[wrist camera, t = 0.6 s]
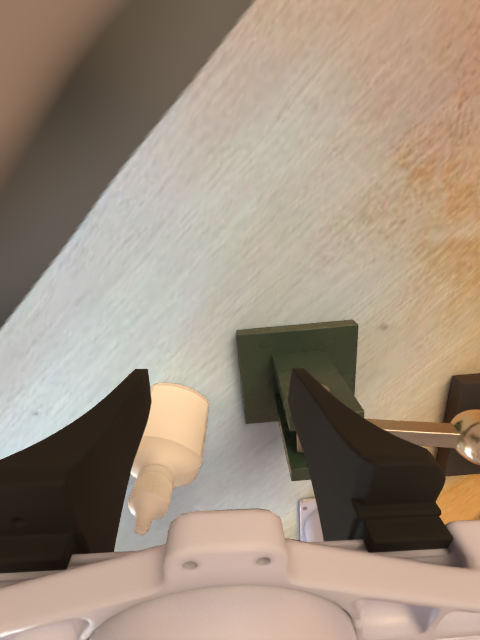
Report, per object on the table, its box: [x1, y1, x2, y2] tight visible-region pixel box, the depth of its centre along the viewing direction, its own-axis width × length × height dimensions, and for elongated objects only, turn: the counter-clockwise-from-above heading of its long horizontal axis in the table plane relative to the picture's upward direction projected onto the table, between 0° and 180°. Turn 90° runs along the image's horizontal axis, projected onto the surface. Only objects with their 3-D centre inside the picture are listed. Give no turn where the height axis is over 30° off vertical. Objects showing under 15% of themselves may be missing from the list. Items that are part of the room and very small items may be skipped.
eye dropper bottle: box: [128, 383, 209, 535], centre depth 22 cm, size 4×6×12 cm
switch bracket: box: [237, 320, 364, 481], centre depth 22 cm, size 10×9×9 cm
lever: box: [297, 409, 480, 465], centre depth 18 cm, size 12×3×3 cm, turn 95°
